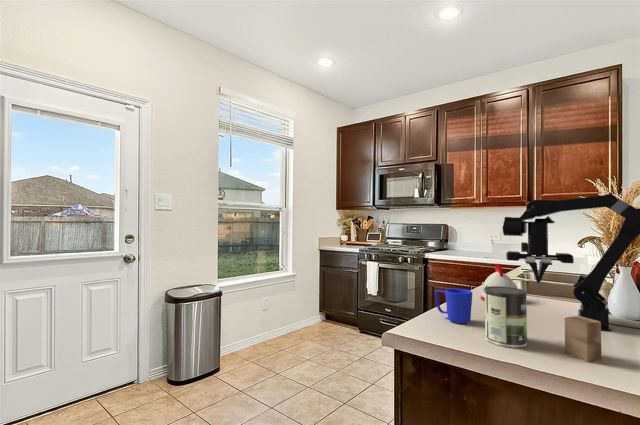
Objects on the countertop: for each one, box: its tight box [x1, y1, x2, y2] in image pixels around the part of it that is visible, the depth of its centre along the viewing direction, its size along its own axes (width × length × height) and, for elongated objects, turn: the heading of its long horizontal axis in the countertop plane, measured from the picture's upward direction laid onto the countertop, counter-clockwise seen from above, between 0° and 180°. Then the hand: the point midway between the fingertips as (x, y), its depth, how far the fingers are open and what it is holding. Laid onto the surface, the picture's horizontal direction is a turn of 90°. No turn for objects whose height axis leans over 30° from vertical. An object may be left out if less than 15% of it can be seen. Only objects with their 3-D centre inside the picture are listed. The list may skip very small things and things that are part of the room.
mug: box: [434, 287, 473, 325], centre depth 109 cm, size 8×12×10 cm
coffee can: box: [484, 286, 528, 349], centre depth 91 cm, size 10×10×14 cm
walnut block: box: [564, 315, 602, 363], centre depth 80 cm, size 5×5×9 cm
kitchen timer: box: [480, 263, 518, 302], centre depth 136 cm, size 14×14×15 cm
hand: (538, 282), depth 112 cm, fingers closed
